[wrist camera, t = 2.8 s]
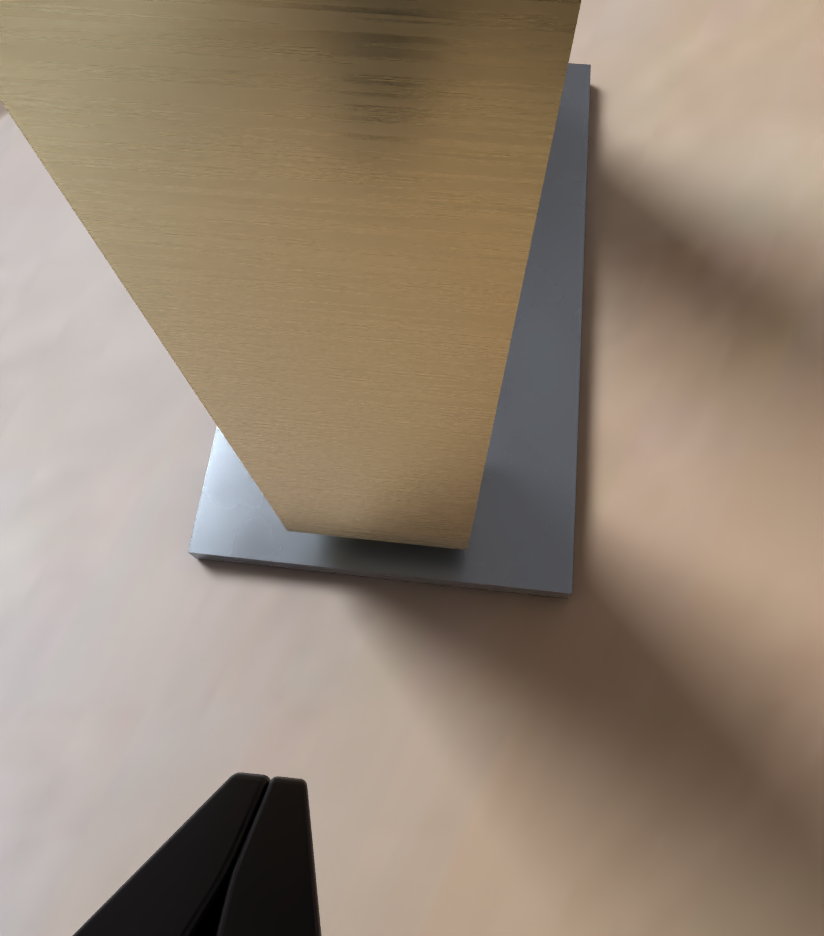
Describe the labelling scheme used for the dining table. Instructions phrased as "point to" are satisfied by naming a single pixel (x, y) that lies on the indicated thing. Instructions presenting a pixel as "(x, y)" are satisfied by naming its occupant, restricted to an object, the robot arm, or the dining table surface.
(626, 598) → the dining table surface
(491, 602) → the dining table surface
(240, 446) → the sliding leg
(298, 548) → the bolt plate
